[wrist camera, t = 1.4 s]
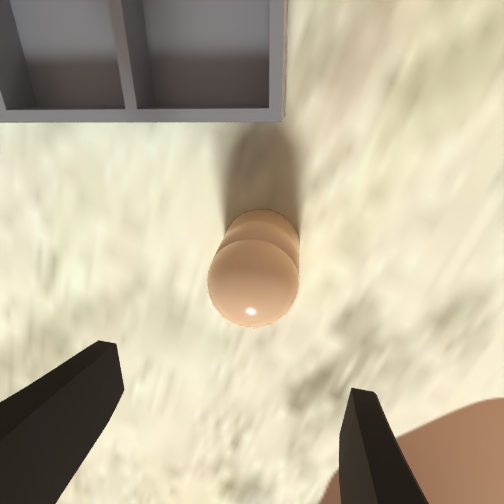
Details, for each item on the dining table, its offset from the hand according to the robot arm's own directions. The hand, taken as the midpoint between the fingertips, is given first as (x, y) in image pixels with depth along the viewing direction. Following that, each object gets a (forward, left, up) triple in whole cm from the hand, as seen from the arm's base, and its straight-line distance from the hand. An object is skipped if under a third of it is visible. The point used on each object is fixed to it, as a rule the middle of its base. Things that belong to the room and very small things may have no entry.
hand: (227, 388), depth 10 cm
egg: (0, 0, -10) cm, 10 cm away
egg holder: (-8, +10, -10) cm, 16 cm away
